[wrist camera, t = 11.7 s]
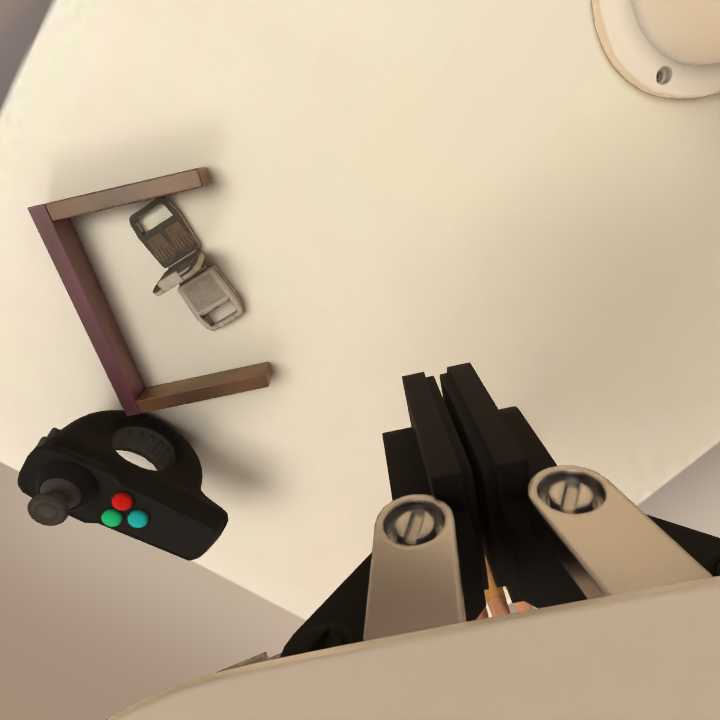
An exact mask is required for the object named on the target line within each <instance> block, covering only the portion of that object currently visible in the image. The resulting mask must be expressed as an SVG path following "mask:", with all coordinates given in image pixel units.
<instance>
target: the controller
mask: <svg viewBox="0 0 720 720" xmlns="http://www.w3.org/2000/svg"><path fill="white" fill-rule="evenodd" d="M115 450H124V451H129V452H133V453H136V454H138V455H140V456H142V457H144V458H146V459H147V460H148V461H149V462H151V463H152V464H153V465H154V466H155V468H156V469H157V470H158V471H153V470H148V469H144V468H141V467H139V466H137V465H135V464H133V463H131V462H129V461H127V460H126V459H124V458H123V457H122V456H120V455H119V454H118V453H117V452H116V451H115ZM202 478H203V477H202V468H201V464H200V460H199V458H198V456H197V454H196V453H195V451H194V449H193V448H192V446H191V445H190V444H189V443H188V442H187V441H186V440H185V438H184V437H183V436H182V435H180V434H179V433H178V432H176V431H175V430H174V429H173V428H171V427H170V426H168V425H166V424H165V423H163V422H161V421H159V420H157V419H155V418H152V417H149V416H147V415H144V414H136V415H131V416H127V415H126V413H125V411H122V410H109V411H100V412H95V413H91V414H88V415H86V416H83V417H81V418H79V419H77V420H75V421H73V422H72V423H70V424H69V425H67V426H66V427H64V428H63V429H61V430H60V429H57V428H52V430H51V431H50V432H49V434H48V436H47V437H42V438H41V440H40V441H39V443H38V445H37V446H36V448H35V449H34V450H33V451H32V452H31V453H30V454H29V455H28V457H27V459H26V461H25V463H24V464H23V466H22V468H21V470H20V472H19V477H18V486H19V487H20V489H21V490H22V492H23V493H25V494H27V495H28V496H30V497H32V499H31V500H30V502H29V503H28V512H29V515H30V516H31V517H32V519H34V520H35V521H36V522H38V523H41V524H43V525H48V526H54V525H58V524H60V523H63V522H64V521H65V519H66V518H67V517H68V515H69V516H71V517H73V518H76V519H78V520H80V521H82V522H84V523H99V524H101V525H104V526H106V527H108V528H111V529H113V530H116V531H118V532H120V533H123V534H125V535H128V536H130V537H133V538H135V539H137V540H140V541H142V542H145V543H147V544H150V545H152V546H154V547H157V548H159V549H162V550H164V551H167V552H169V553H172V554H174V555H176V556H179V557H181V558H184V559H186V560H194V559H197V558H199V557H201V556H202V555H203V554H204V553H205V552H206V551H207V550H208V549H209V548H210V547H211V546H212V545H213V544H214V543H215V541H216V540H217V539H218V538H219V537H220V535H221V534H222V532H223V530H224V528H225V527H226V525H227V522H228V515H227V512H226V511H225V510H223V509H222V508H221V507H220V506H218V505H217V504H216V503H214V502H213V501H212V500H210V499H209V498H208V497H206V496H205V494H204V493H203V492H202V491H201V484H202Z"/></svg>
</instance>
